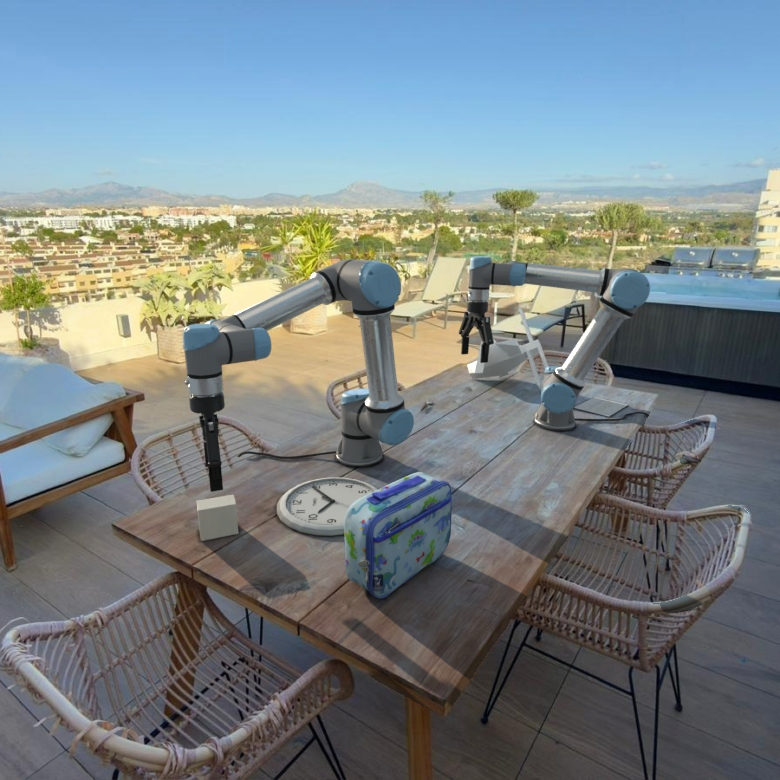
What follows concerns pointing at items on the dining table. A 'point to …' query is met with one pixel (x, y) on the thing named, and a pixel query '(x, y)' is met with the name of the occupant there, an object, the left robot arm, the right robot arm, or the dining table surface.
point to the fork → (427, 403)
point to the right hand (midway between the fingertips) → (474, 358)
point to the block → (217, 517)
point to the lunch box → (397, 532)
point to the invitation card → (601, 406)
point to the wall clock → (321, 504)
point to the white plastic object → (508, 357)
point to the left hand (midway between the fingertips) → (214, 477)
